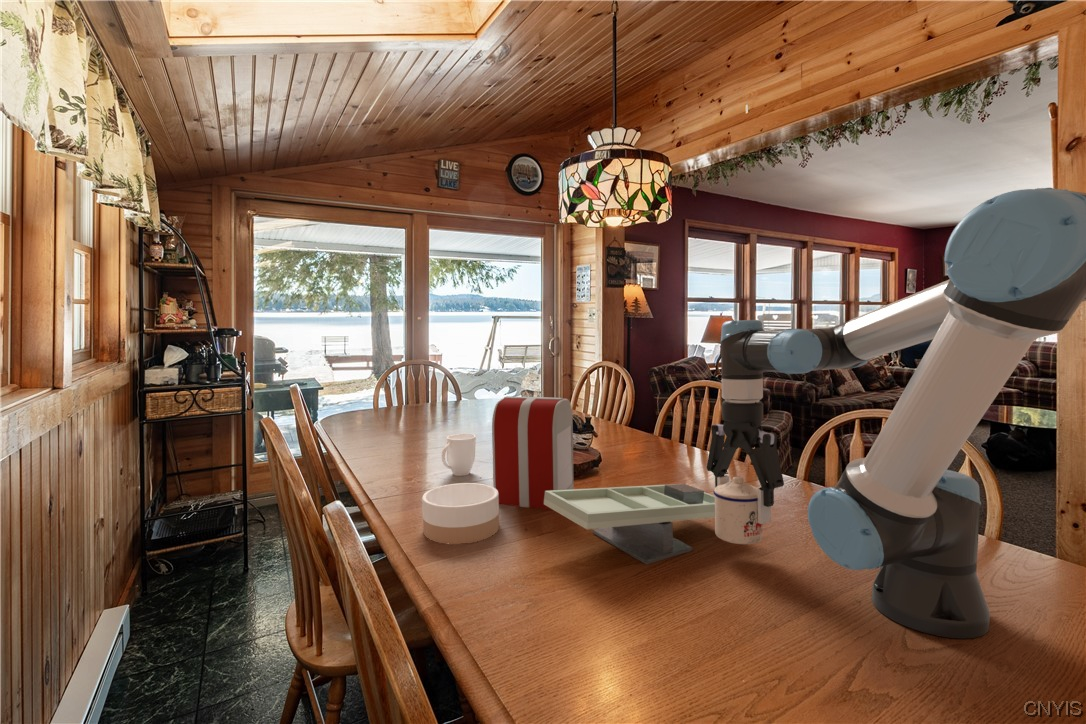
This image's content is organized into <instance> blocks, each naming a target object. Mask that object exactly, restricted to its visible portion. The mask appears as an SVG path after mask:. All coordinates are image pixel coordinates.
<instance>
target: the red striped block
mask: <svg viewBox="0 0 1086 724" xmlns="http://www.w3.org/2000/svg"><path fill="white" fill-rule="evenodd" d="M573 423H574V422H573V410H572V405H571V402H570V400H569V399H568V398H563V397H551V396H550V397H547V396H546V397H544V396H510V395H508V396H504V397H503V398H501V399H500V400H499V401H497V402H496V404H495V406H494V408H493V413H492V419H491V437H492V438H491V439H492V440H491V443H492V444H491V447H492V448H491V449H492V481H493V483H492V484H493V486H492V487H494V488H495V489H497V491H498V494H499V505H503V506H515V507H519V508H520V507H522V508H533V509H534V508H535V509H542V510H543V509H544V510H553V509H551V508H549V507H548V506H546V505H544V496H545V491H551V490H571V489H575V488H574V442H573V441H574V439H573V437H574V436H573V435H574V431H573V430H574V429H573V428H574V427H573V426H574V425H573ZM553 511H554V510H553Z"/></svg>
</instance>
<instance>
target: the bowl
mask: <svg viewBox="0 0 1086 724" xmlns="http://www.w3.org/2000/svg"><path fill="white" fill-rule="evenodd" d="M421 505H422V506H421V509H422V524H423V525H422V526H423V527H422V529H423V530H422V531H423V532H424V533H423V535H425V536H426V537H427V538H429V539H430V540H429V539H428V540H429V541H431V540H433V541H436V542H440V543H439V544H441V543H449V544H448V545H461V544H460V543H468V544H472V543H471V542H474V543H477V541H478V542H482V541H484V540H486V539H489V538H491V537H493V536H494V535H495V533H496V534H497V532H498V531H499V529H500V507H499V506H500V504H499V494H498V491H497V489H495V488H494V487H493V486H491V485H488V484H483V483H475V482H474V483H473V482H460V483H459V482H458V483H457V482H456V483H451V484H445V485H441V486H437V487H434V488H431V489H429V490H428V491H426V492H424V494H423V495H422V498H421ZM492 535H493V536H492ZM425 536H424V537H425ZM426 537H425V538H426ZM427 538H426V539H427ZM483 539H484V540H483ZM433 541H432V542H433ZM436 542H435V543H436Z"/></svg>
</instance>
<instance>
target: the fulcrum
mask: <svg viewBox="0 0 1086 724" xmlns="http://www.w3.org/2000/svg"><path fill="white" fill-rule="evenodd" d="M673 526H674V524H673V521H671V522H661V523H650V524H640V525H629V526H619V527H608V528H598V529H592V534H594V535H595V536H597V537H598V538H600V539H602V540H603V541H605V542H607V543H609V544H610V545H612V546H613V547H615V548H618V549H619V550H621V551H623V553H626V554H627V555H630V556H631V557H632V558H634V559H636V560H638V561H640V562H641V563H643V564H644V565H646V566H647V565H650V564H653V563H657V562H659V561H663V560H667V559H670V558H672V557H676V556H680V555H683V554H685V553H689V552H693V546H691V545H689V544H687V543H685V542H683V541H681V540H679V539H677V538H675V537H674V532H673V531H674V527H673Z"/></svg>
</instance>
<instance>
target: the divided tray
mask: <svg viewBox="0 0 1086 724" xmlns="http://www.w3.org/2000/svg"><path fill="white" fill-rule="evenodd" d="M675 484H676V483H673V484H672V483H671V484H668V485H675ZM665 485H666V484H655V485H653V484H652V485H649V484H648V485H636V486H635V485H634V486H633V485H630V486H616V487H615V486H612V487H611V486H610V487H596V488H594V487H593V488H574V489H571V490H551V491H545V496H544V505H546V506H548V507H549V508H551V509H550V510H552V509H553V511H555V512H556V513H558V514H560V515H562V516H563V517H565V518H566V519H568V520H570V521H572V522H573V523H575V524H576V525H578V526H579V527H582V528H584V529H585V530H595V529H599V528H608V527H619V526H629V525H640V524H650V523H661V522H680V521H689V520H690V521H691V520H700V519H710V518H711V519H712V518H715V495H714V494H711V493H708V492H705V491H704V497H703V504H690V505H689V504H687V503H684V502H682V501H679V500H677V499H674V498H672V497H669V496H667V495H664V489H665Z"/></svg>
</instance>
